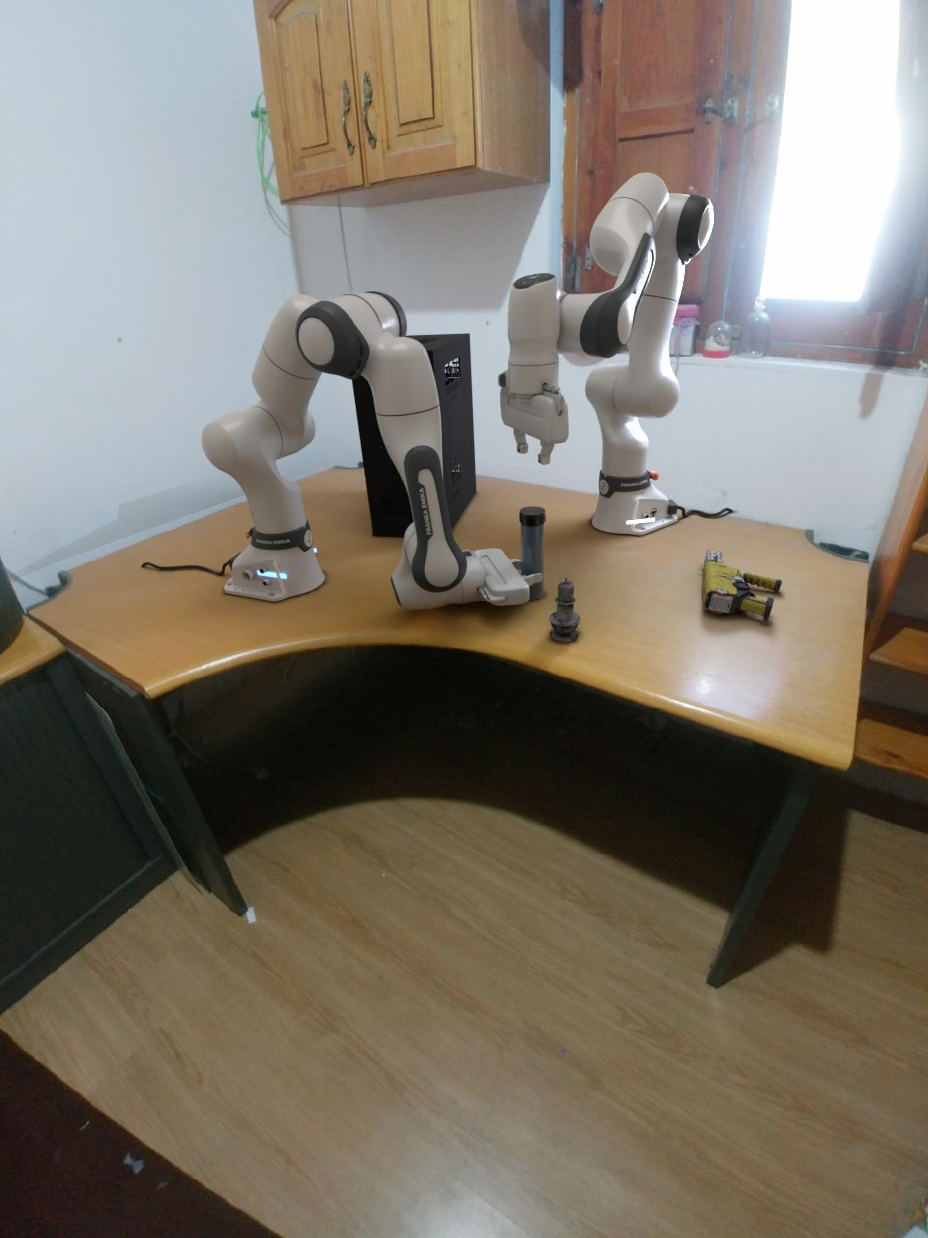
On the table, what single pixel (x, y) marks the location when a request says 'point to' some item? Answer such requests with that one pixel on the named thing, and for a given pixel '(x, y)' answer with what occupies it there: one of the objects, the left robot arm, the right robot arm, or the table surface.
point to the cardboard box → (457, 439)
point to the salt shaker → (565, 614)
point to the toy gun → (734, 588)
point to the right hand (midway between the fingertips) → (532, 458)
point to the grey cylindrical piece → (533, 556)
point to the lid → (532, 516)
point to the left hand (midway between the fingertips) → (536, 570)
